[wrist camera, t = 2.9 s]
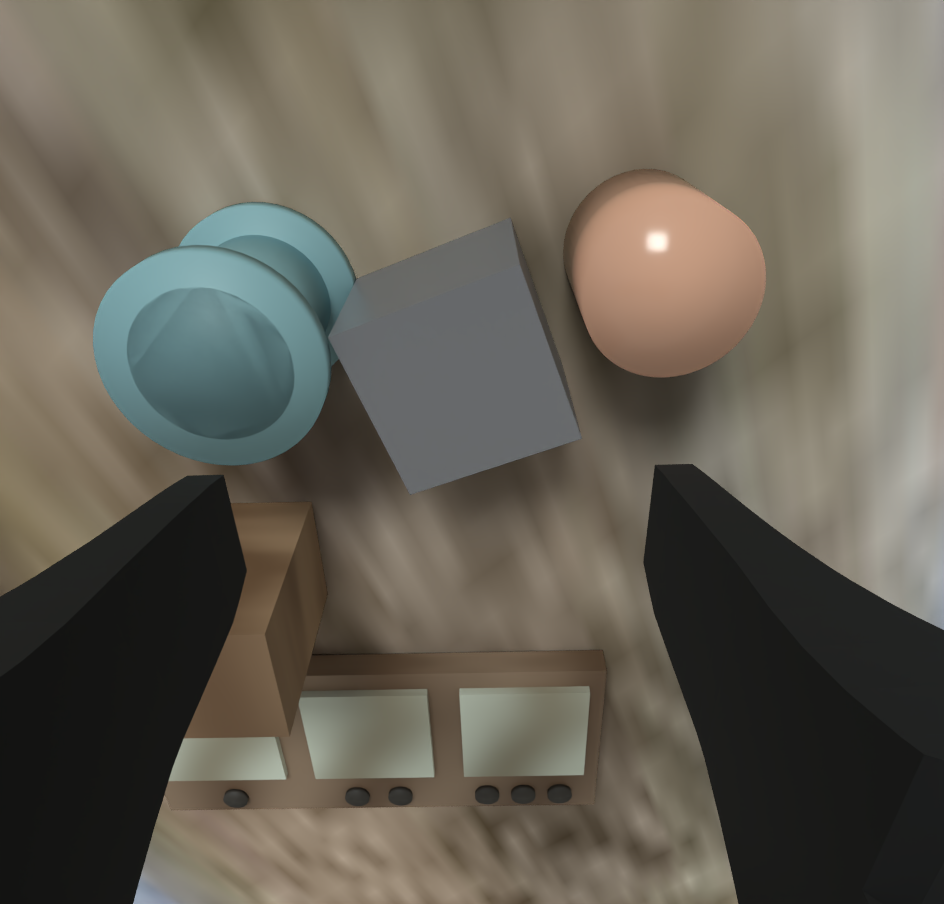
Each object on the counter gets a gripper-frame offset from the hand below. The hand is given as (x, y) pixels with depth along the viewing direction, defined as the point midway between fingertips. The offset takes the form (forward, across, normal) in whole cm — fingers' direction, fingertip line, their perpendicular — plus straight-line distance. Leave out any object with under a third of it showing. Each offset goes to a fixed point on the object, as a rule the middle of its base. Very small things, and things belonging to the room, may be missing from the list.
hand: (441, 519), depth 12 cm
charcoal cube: (+10, 0, 0) cm, 10 cm away
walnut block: (+10, +7, +8) cm, 14 cm away
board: (+9, +4, +17) cm, 20 cm away
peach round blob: (+10, -5, -2) cm, 11 cm away
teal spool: (+9, +5, -1) cm, 11 cm away
